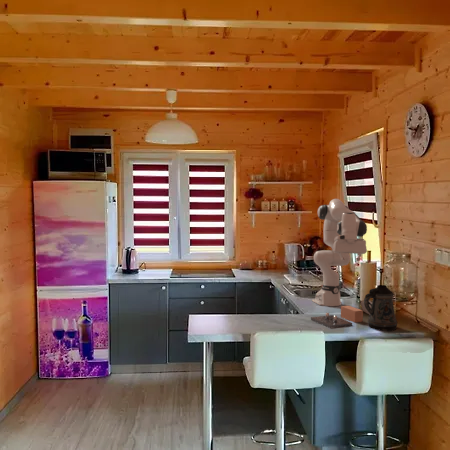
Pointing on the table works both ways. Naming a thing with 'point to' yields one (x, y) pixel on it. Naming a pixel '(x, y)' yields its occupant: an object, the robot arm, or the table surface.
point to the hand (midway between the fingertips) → (350, 260)
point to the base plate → (331, 321)
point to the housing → (352, 313)
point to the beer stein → (381, 309)
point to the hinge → (364, 306)
